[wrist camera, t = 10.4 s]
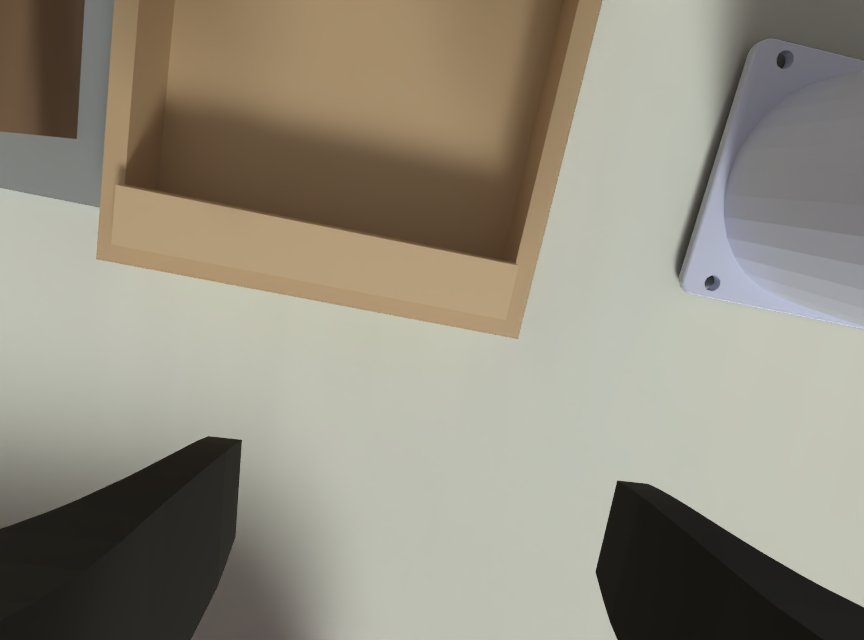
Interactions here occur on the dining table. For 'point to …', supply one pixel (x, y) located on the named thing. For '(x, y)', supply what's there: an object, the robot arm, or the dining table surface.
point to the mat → (83, 157)
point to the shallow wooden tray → (343, 147)
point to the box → (40, 66)
